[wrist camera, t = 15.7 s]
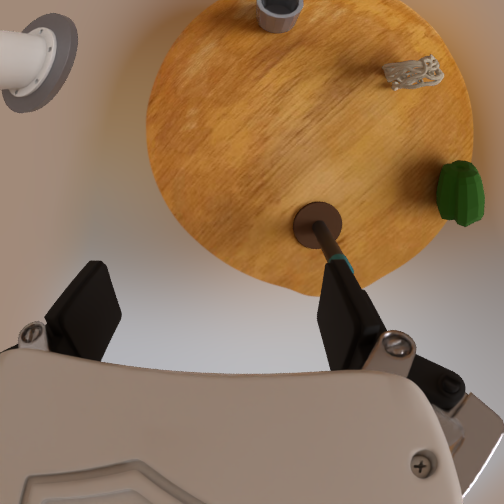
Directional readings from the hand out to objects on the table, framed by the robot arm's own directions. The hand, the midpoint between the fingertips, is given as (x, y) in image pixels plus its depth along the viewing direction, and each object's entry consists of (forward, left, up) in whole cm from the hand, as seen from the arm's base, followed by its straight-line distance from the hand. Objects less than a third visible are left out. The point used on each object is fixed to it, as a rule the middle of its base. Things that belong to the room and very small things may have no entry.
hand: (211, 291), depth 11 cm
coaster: (+11, -8, -26) cm, 29 cm away
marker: (+11, -8, -26) cm, 29 cm away
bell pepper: (+30, +4, -22) cm, 37 cm away
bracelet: (+22, +15, -27) cm, 37 cm away
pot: (+5, +21, -26) cm, 34 cm away
